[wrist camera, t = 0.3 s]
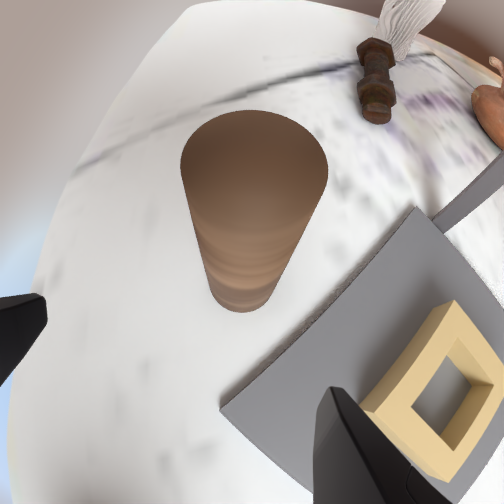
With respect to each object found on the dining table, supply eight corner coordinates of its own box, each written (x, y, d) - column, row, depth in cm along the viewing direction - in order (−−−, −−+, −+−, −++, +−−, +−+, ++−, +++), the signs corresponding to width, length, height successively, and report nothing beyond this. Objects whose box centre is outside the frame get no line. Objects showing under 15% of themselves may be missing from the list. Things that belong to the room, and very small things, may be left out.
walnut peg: (282, 302, 22) (351, 207, 9) (218, 320, 21) (196, 243, 8) (263, 243, 24) (297, 103, 11) (202, 259, 23) (171, 123, 10)
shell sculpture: (415, 74, 36) (457, -13, 19) (367, 58, 36) (402, -40, 19) (404, 50, 39) (437, -28, 22) (360, 36, 39) (387, -49, 22)
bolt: (359, 135, 31) (364, 69, 36) (402, 135, 29) (396, 68, 34) (348, 96, 27) (354, 37, 32) (395, 95, 24) (389, 34, 29)
